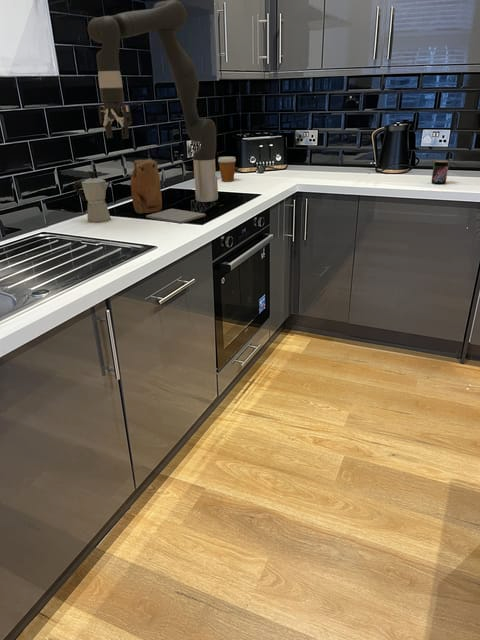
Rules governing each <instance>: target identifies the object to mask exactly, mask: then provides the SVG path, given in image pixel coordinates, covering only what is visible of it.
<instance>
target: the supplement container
mask: <svg viewBox="0 0 480 640" xmlns="http://www.w3.org/2000/svg"><path fill="white" fill-rule="evenodd" d="M449 165H450V160H443V159H442V160H441V159H440V160H434V161H433V168H432V175H431V181H430V182H431V184H433V185H442V186H443V185H445V184H447V183H446V182H447V179H448V178H447V177H448V170H449Z"/></svg>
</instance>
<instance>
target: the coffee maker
mask: <svg viewBox="0 0 480 640" xmlns="http://www.w3.org/2000/svg"><path fill="white" fill-rule="evenodd" d="M88 173H89V177H90V178H88V179H87V178H84V179H79V180H76V181H74V184H73V189H74V190H75V191H76V193H77V195H78V196H79V198H80V199H81V200H82V202H85V201H87V222H88V223H91V224H99V223H100V224H101V223H107V222H108V221H109V222H110V221H111V220H112V218H111V215H110V211H109V209H108V205H107V202H106V200H105V199H106V191H107V188H108V186H109V184H110V183H109V182H107V181H106V180H105V179H101V178H97V177H96V171H94V170H93V171H88ZM79 187H80V188H81V189H83V193H84V195H83V193H82V191H81V190H80V189H79Z"/></svg>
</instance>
